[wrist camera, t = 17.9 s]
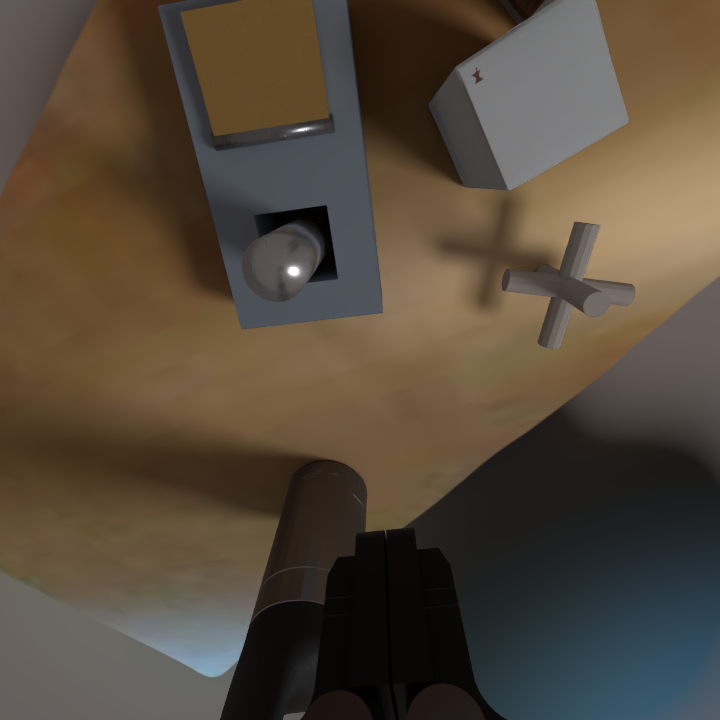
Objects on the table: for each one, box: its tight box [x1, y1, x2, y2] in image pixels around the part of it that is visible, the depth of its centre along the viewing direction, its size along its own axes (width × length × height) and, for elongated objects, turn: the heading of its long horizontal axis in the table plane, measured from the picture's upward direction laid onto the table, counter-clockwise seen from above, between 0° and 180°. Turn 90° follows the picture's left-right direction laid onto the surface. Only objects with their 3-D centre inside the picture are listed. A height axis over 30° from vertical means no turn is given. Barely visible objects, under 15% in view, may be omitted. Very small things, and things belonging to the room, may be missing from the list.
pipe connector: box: [502, 222, 635, 349], centre depth 34 cm, size 10×10×10 cm
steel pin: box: [242, 215, 332, 302], centre depth 31 cm, size 4×4×14 cm
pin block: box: [158, 0, 383, 329], centre depth 33 cm, size 22×12×6 cm, turn 8°
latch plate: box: [180, 0, 335, 151], centre depth 27 cm, size 8×8×1 cm
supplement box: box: [428, 0, 629, 191], centre depth 28 cm, size 7×7×13 cm
